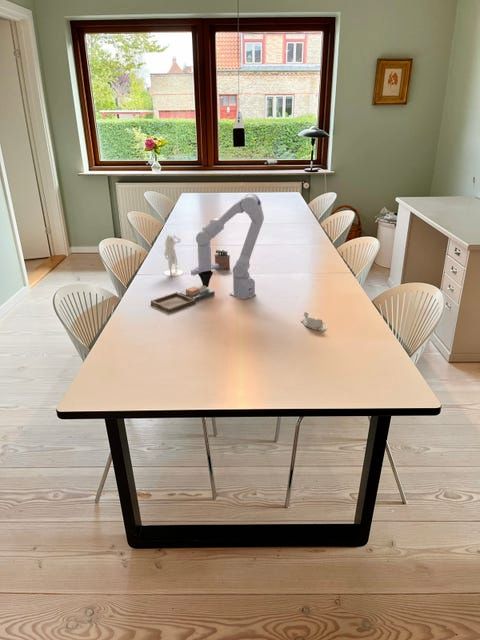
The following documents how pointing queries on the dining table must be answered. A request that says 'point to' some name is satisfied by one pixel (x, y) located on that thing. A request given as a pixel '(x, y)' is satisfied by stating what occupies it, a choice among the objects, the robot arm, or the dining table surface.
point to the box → (173, 302)
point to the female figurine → (171, 256)
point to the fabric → (313, 323)
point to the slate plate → (200, 295)
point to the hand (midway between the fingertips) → (205, 286)
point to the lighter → (222, 260)
